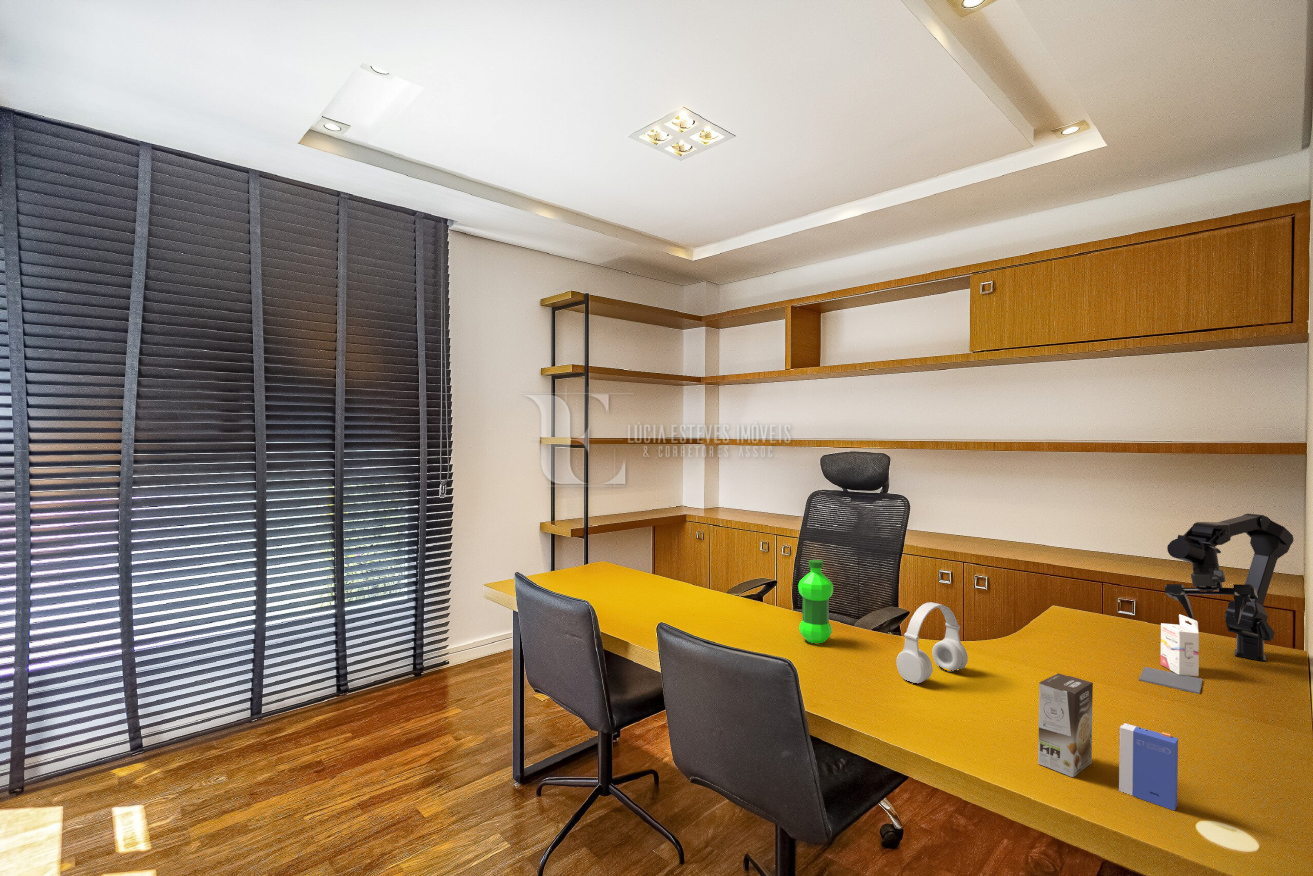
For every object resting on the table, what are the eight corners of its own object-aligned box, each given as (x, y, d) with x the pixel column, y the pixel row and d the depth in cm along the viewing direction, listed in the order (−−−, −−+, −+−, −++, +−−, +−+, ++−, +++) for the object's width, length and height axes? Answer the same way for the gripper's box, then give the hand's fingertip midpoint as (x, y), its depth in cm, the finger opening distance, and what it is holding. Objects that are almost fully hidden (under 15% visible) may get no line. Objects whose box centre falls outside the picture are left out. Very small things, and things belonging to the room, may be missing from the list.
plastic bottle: (821, 649, 183) (821, 566, 183) (791, 640, 190) (792, 560, 190) (839, 642, 189) (839, 561, 189) (809, 633, 197) (810, 556, 197)
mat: (1144, 668, 170) (1144, 666, 170) (1202, 680, 161) (1202, 678, 161) (1138, 680, 161) (1138, 678, 161) (1199, 694, 153) (1199, 692, 153)
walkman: (1177, 804, 107) (1178, 736, 106) (1174, 811, 105) (1175, 741, 105) (1121, 785, 112) (1122, 720, 112) (1118, 791, 111) (1119, 725, 110)
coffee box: (1074, 779, 114) (1075, 693, 114) (1037, 764, 119) (1037, 682, 119) (1092, 763, 120) (1093, 682, 120) (1056, 750, 125) (1057, 671, 125)
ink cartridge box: (1158, 664, 172) (1159, 612, 172) (1179, 666, 171) (1179, 613, 171) (1178, 675, 163) (1179, 619, 164) (1199, 677, 162) (1200, 621, 163)
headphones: (922, 689, 155) (923, 613, 154) (894, 678, 162) (895, 605, 162) (969, 673, 165) (969, 602, 165) (940, 663, 172) (941, 595, 172)
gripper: (1156, 560, 175) (1163, 615, 170) (1245, 558, 162) (1256, 618, 156) (1166, 569, 182) (1173, 623, 176) (1252, 568, 168) (1263, 627, 162)
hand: (1214, 623), depth 167 cm, fingers open, 9 cm apart
